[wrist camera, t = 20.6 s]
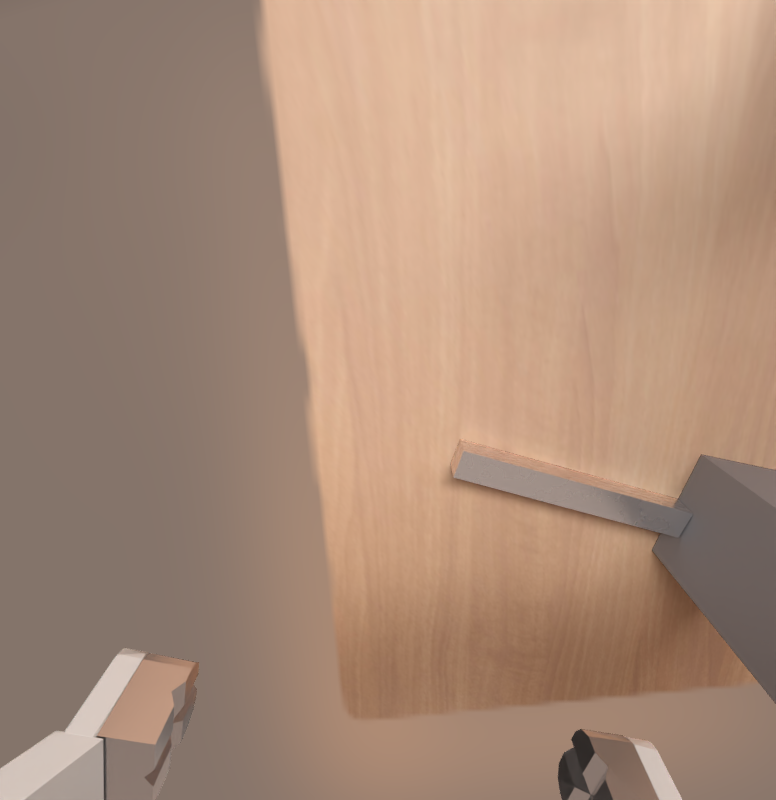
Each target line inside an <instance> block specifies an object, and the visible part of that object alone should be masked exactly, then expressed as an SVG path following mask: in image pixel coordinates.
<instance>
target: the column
mask: <svg viewBox="0 0 776 800" xmlns="http://www.w3.org/2000/svg"><path fill="white" fill-rule="evenodd" d="M678 500H679V501H680V502H681V503H682V504H684V505H685V506H686V507H687V508H688V509H689V510H690V511H691V512H692V513H693V515H692V517H691V518H690V520H689V521H688V523H687V525H686V526H685V528H684V529H683V531H682V533H681V534H680V536H679V537H678V538H677V537H673V536H670V535H666V534H662V533H661V534H660V535H659V537H658V539H657V541H656V543H655V545H654V547H653V549H652V551H653V552H654V553H655V555H656V556H657V557H658V558H659V560H660V561H661V562H662V563H663V565H664V566H665V567H666V568H667V570H668V571H669V572H670V573H671V575H672V576H673V577H674V578H675V579H676V581H677V582H678V583H679V584H680V586H681V587H682V588H683V589H684V591H685V592H686V593H687V594H688V596H689V597H690V598H691V599H692V601H693V602H694V603H695V604H696V606H697V607H698V608H699V609H700V610H701V612H702V613H703V614H704V615H705V617H706V618H707V619H708V620H709V622H710V623H711V624H712V625H713V627H714V628H715V629H716V630H717V632H718V633H719V634H720V635H721V636H722V638H723V639H724V640H725V641H726V643H727V644H728V645H729V646H730V648H731V649H732V650H733V651H734V653H735V654H736V655H737V656H738V658H739V659H740V660H741V661H742V663H743V664H744V665H745V666H746V667H747V669H748V670H749V671H750V672H751V674H752V675H753V676H754V677H755V679H756V680H757V681H758V682H759V684H760V685H761V686H762V687H763V689H764V690H765V691H766V692H767V694H769V696H770V697H771V698H772V700H773V701H774V702H775V703H776V470H772V469H767V468H762V467H758V466H753V465H748V464H744V463H739V462H734V461H729V460H725V459H720V458H715V457H710V456H706V455H701V456H700V458H699V460H698V462H697V464H696V466H695V468H694V470H693V472H692V474H691V476H690V478H689V480H688V481H687V483H686V485H685V487H684V489H683V491H682V493H681V495H680V497H679V499H678Z"/></svg>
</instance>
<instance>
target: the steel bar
mask: <svg viewBox="0 0 776 800" xmlns="http://www.w3.org/2000/svg"><path fill="white" fill-rule="evenodd" d="M450 465H451V469H452V474H453V478H457V479H461V480H465V481H468V482H472V483H476V484H480V485H483V486H487V487H491V488H494V489H498V490H502V491H506V492H509V493H513V494H517V495H521V496H524V497H528V498H532V499H535V500H539V501H543V502H547V503H550V504H554V505H558V506H562V507H565V508H569V509H573V510H576V511H580V512H584V513H588V514H591V515H595V516H599V517H603V518H606V519H610V520H614V521H617V522H621V523H625V524H629V525H632V526H636V527H640V528H644V529H647V530H651V531H655V532H658V533H662V534H666V535H670V536H673V537H677V538H678V537H679V536H680V534H681V533H682V531H683V529H684V528H685V526H686V525H687V523H688V521H689V520H690V518H691V517H692V515H693V513H692V512H691V511H690V510H689V509H688V508H687V507H686V506H685V505H684V504H682V503H681V502H680V501H679V500H678V499H676V498H673V497H669V496H665V495H662V494H658V493H655V492H651V491H647V490H644V489H640V488H636V487H633V486H629V485H626V484H622V483H618V482H615V481H611V480H607V479H604V478H600V477H597V476H593V475H589V474H586V473H582V472H578V471H575V470H571V469H568V468H564V467H560V466H557V465H553V464H549V463H546V462H542V461H539V460H535V459H531V458H528V457H524V456H520V455H517V454H513V453H510V452H506V451H502V450H499V449H495V448H491V447H488V446H484V445H481V444H477V443H473V442H470V441H466V440H462V439H460V440H459V443H458V446H457V448H456V451H455V453H454V456H453V459H452V461H451V464H450Z"/></svg>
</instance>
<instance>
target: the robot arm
mask: <svg viewBox="0 0 776 800" xmlns="http://www.w3.org/2000/svg"><path fill="white" fill-rule="evenodd" d="M198 670H199V662H194V661H189V660H184V659H179V658H174V657H169V656H163V655H158V654H153V653H149V652H144V651H138V650H133V649H126V648H124V649H122V650H121V651H120V652H119V653H118V654H117V655H116V656H115V658H114V659H113V661H112V662H111V664H110V665H109V667H108V668H107V669H106V671H105V672H104V674H103V675H102V677H101V678H100V680H99V681H98V683H97V684H96V686H95V687H94V689H93V690H92V692H91V693H90V694H89V696H88V698H87V699H86V701H85V702H84V703H83V705H82V706H81V708H80V709H79V711H78V712H77V714H76V715H75V717H74V718H73V720H72V721H71V723H70V724H69V726H68V727H67V729H66V730H65V731H64V732H62V731H55V732H53V733H52V734H50V735H49V736H47V737H46V738H45V739H43V740H42V741H40V742H39V743H37V744H36V745H34V746H33V747H31V748H30V749H28V750H27V751H25V752H24V753H22V754H21V755H19V756H18V757H17V758H15V759H13V760H12V761H11V762H9V763H8V764H6V765H5V766H3V767H2V768H0V800H156V799H157V797H158V794H159V792H160V790H161V787H162V785H163V783H164V780H165V778H166V776H167V774H168V771H169V769H170V760H171V750H173V749H174V748H175V747H176V746H177V745H179V744H180V743H181V741H182V739H183V736H184V734H185V731H186V729H187V727H188V724H189V720H190V718H191V715H192V712H193V708H194V704H195V700H196V692H197V689H196V687H195V686H194V685H193V684H194V682H195V680H196V678H197V676H198ZM572 742H573V746H574V748H572V749H570V750H568V751H566V752H564V754H563V756H562V758H561V760H560V762H559V770H558V782H559V789H560V794H561V798H562V800H682V798H681V796H680V794H679V792H678V790H677V788H676V786H675V785H674V782H673V781H672V779H671V777H670V775H669V773H668V771H667V769H666V767H665V765H664V763H663V761H662V759H661V757H660V755H659V753H658V751H657V749H656V748H655V746H653V744H652V743H651V742H650V741H647V740H643V739H636V738H629V737H624V736H623V735H616V734H610V733H603V732H597V731H591V730H585V729H580V730H578V731H576V732H575V733H574V735H573V737H572Z"/></svg>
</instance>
